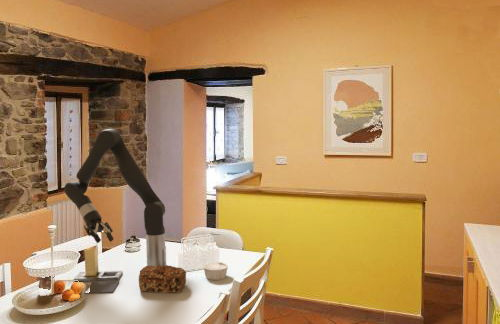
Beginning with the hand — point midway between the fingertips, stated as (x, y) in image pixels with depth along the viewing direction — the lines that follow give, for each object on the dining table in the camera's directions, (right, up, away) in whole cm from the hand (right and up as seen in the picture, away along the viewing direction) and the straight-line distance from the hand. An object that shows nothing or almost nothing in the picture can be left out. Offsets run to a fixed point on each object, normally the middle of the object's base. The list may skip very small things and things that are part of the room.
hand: (105, 241), depth 206 cm
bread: (+31, -18, -16) cm, 39 cm away
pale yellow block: (-5, -17, -3) cm, 18 cm away
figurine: (-18, -19, -21) cm, 33 cm away
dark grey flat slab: (-2, -17, -2) cm, 17 cm away
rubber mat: (+3, -18, -15) cm, 24 cm away
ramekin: (+53, -17, -2) cm, 55 cm away
